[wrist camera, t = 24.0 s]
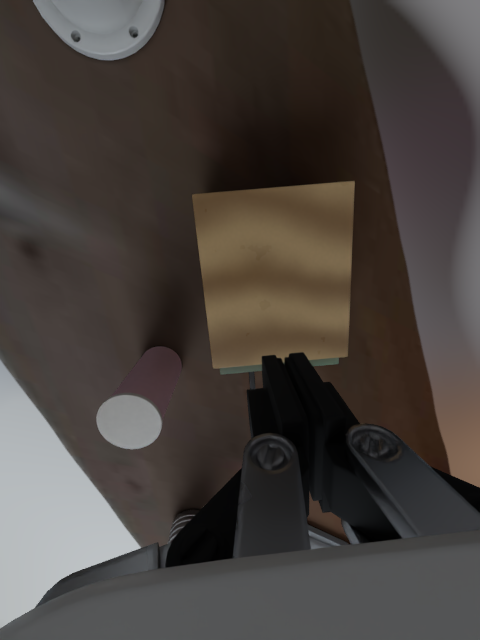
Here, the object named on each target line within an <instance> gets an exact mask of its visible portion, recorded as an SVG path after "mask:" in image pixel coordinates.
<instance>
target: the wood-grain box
mask: <svg viewBox="0 0 480 640" xmlns="http://www.w3.org/2000/svg"><path fill="white" fill-rule="evenodd" d="M354 187H355V181H345V182H333V183H320V184H308V185H296V186H284V187H272V188H259V189H247V190H235V191H223V192H211V193H199V194H192V200H193V208H194V216H195V224H196V232H197V241H198V249H199V257H200V265H201V273H202V282H203V290H204V298H205V306H206V315H207V323H208V331H209V339H210V347H211V356H212V364H213V369H216V368H227V367H238V366H249V365H260V364H262V356H267V355H276V357H277V358H281V359H282V361H283V362H284V358H285V357H289V353H299V352H304V354H305V355H306V357H307V358H308V360H316V359H327V358H338V357H348V340H349V314H350V289H351V263H352V238H353V213H354Z"/></svg>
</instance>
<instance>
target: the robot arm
mask: <svg viewBox="0 0 480 640" xmlns="http://www.w3.org/2000/svg"><path fill="white" fill-rule="evenodd" d="M33 2H34V4H35V5H36V7H37V9H38V10H39V12H40V14H41V15H42V17H43V18H44V19H45V21H46V22H47V23H48V25H49V26H50V27H51V28H52V30H53V31H54V32H55V33H56V34H57V35H58V36H59V37H60V38H61V39H62V40H63V41H64V42H65V43H66V44H68V45H69V46H70V47H72V48H73V49H74V50H76V51H78V52H80V53H82V54H84V55H86V56H88V57H92V58H95V59H99V60H117V59H122V58H125V57H127V56H129V55H132V54H134V53H136V52H137V51H138V50H139V49H141V48H142V47H143V46H144V45H145V44H146V43H147V42H148V40H149V39H150V38H151V37H152V35H153V34H154V32H155V30H156V28H157V26H158V24H159V22H160V19H161V16H162V12H163V9H164V2H165V0H33ZM136 36H137V37H136ZM135 37H136V38H135ZM262 375H263V388H260V389H250V390H247V400H248V412H249V422H250V431H251V440H250V441H249V442H248V443H247V445H246V446H245V450H244V454H243V464H242V468H241V469H240V470H239V471H238V472H237V473H236V474H235V475H234V476H233V477H232V478H231V479H230V480H229V481H228V483H227V484H226V485H225V486H224V487H223V488H222V489H221V490H220V491H219V492H218V493H217V494H216V495H215V496H214V497H213V498H212V499H211V500H210V501H209V502H208V503H207V504H206V505H205V506H204V507H203V508H202V509H201V510H200V511H199V512H198V513H197V514H196V515H195V516H194V517H193V518H192V519H191V520H190V521H189V522H188V523H187V524H186V525H185V526H184V527H183V528H182V529H181V530H180V531H179V533H178V534H177V535H176V536H175V538H174V539H173V540H172V543H169V544H166V545H164V546H161V547H159V544H158V542H157V543H154V544H152V545H149V546H146V547H143V548H141V549H138V550H135V551H132V552H130V553H127V554H124V555H121V556H119V557H116V558H113V559H110V560H108V561H105V562H102V563H99V564H97V565H94V566H91V567H88V568H86V569H83V570H80V571H77V572H75V573H72V574H71V575H69V576H67V577H65V578H63V579H61V580H60V581H59V582H57V584H55V585H54V586H53V587H52V588H51V589H50V590H48V591H47V593H46V594H45V595H44V596H43V598H42V599H41V601H40V602H39V603H38V605H37V606H36V607H35V608H34V609H33V610H31V611H29V612H27V613H25V614H24V615H22V616H20V617H19V618H17V619H15V620H13V621H11V622H10V623H8V624H7V625H5V626H4V627H2V628H1V629H0V640H480V488H479V487H476V486H474V485H472V484H470V483H467V482H465V481H463V480H460V479H458V478H456V477H453V476H451V475H449V474H446V473H444V472H442V471H440V470H437V469H435V468H433V467H430V466H429V465H428V464H427V463H426V462H425V461H424V460H422V459H421V458H420V457H419V456H418V455H417V454H416V453H415V452H414V451H413V450H412V449H411V448H410V447H409V446H408V445H406V444H405V443H404V442H403V441H402V440H401V439H400V438H399V437H398V436H397V435H395V434H394V433H393V432H391V431H390V430H388V429H386V428H384V427H381V426H378V425H374V424H366V423H365V424H360V423H359V422H358V420H357V419H356V417H355V416H354V415H353V413H352V412H351V410H350V409H349V408H348V406H347V405H346V403H345V402H344V400H343V399H342V398H341V396H340V395H339V393H338V392H337V391H336V389H335V388H334V386H333V385H332V384H331V383H330V382H323V381H322V380H321V378H320V376H319V375H318V373H317V372H316V370H315V369H314V367H313V366H312V364H311V363H310V361H309V360H308V358H307V357H306V355H305V354H304V352H299V353H289V357H285V358H284V363H283V361H282V359H281V358H277V357H276V355H267V356H262ZM309 491H310V494H311V497H312V499H313V501H316V500H319V503H320V506H321V509H322V512H323V513H324V512H332V513H333V514H335V515H337V516H338V517H340V518H341V524H342V527H343V529H344V532H345V534H346V535H347V537H348V539H349V541H350V543H351V545H343V546H334V547H326V548H317V549H311V546H310V539H309V531H308V524H307V517H308V515H309Z"/></svg>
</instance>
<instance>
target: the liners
mask: <svg viewBox="0 0 480 640" xmlns="http://www.w3.org/2000/svg"><path fill="white" fill-rule="evenodd" d="M181 370H182V363H181V359H180V357H179V356H178V354H177V353H176V352H174V351H173V350H172V349H170V348H167V347H162V346H158V347H153V348H151V349H149V350H147V351H146V352H145V353H144V354H143V356H142V357H141V358H140V360H139V361H138V362H137V363H136V365H135V366H134V367H133V369H132V370H131V371H130V373H129V374H128V375H127V376H126V378H125V379H124V380H123V382H122V383H121V384H120V386H119V387H118V388H117V389H116V391H115V392H114V393H113V395H112V396H111V397H110V398H108V399H107V400H106V401H105V402H104V403H103V404H102V405H101V407H100V408H99V410H98V413H97V418H96V420H97V426H98V429H99V431H100V433H101V434H102V436H103V437H104V438H105V439H106V440H107V441H109V442H110V443H112V444H114V445H116V446H118V447H121V448H126V449H138V448H142V447H145V446H148V445H149V444H151V443H152V442H154V441H155V440H156V439H157V437H158V436H159V434H160V432H161V429H162V424H163V418H164V415H165V412H166V410H167V407H168V404H169V402H170V399H171V397H172V394H173V391H174V389H175V386H176V383H177V381H178V378H179V375H180V373H181Z"/></svg>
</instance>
